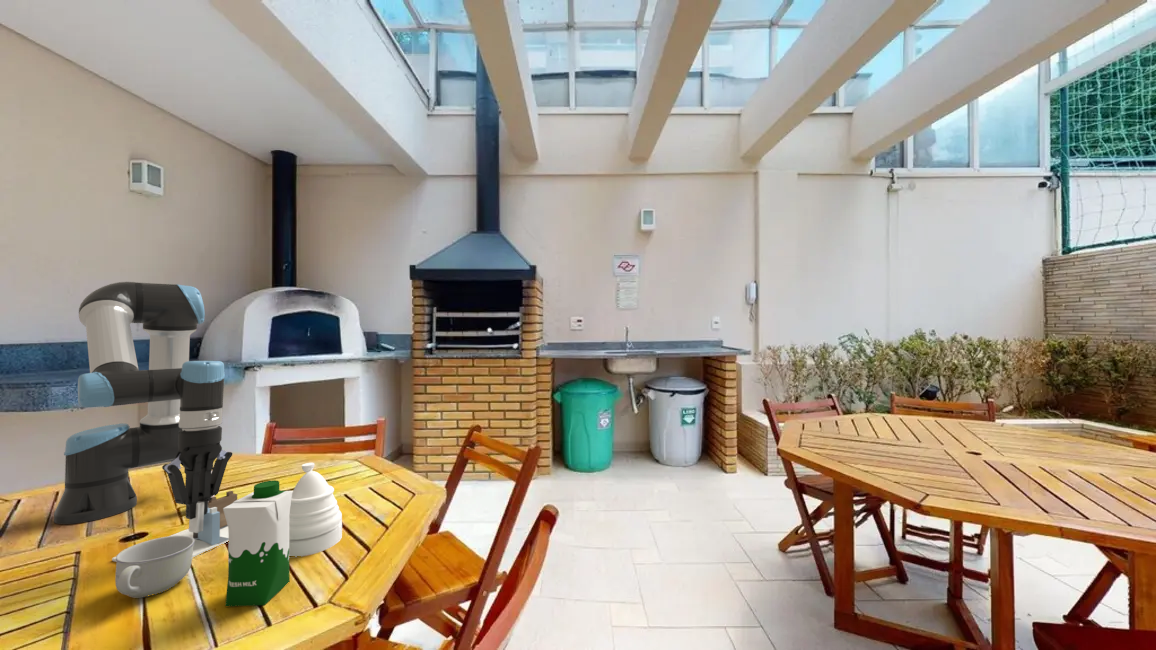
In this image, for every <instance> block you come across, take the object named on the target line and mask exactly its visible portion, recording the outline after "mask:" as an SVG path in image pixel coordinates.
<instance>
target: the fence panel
mask: <svg viewBox="0 0 1156 650" xmlns="http://www.w3.org/2000/svg"><path fill="white" fill-rule="evenodd" d="M198 539H200V540H202V541H204V542H206V543H209V544H211V545H214V544H217V543H220V512H218V511H217V507H213V508H208V511H207V514H205V515H204V520H203V531H201V532H198Z"/></svg>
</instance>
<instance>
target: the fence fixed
mask: <svg viewBox="0 0 1156 650" xmlns="http://www.w3.org/2000/svg"><path fill="white" fill-rule="evenodd" d="M211 498H212V499H211V500H210V501H209V502H208V508H213V507H217V511H218V512H220V528H221V527H224V526H226V525H227V521H226V518H225V514H224V510H223V508H225V507H227V506H228V505H230V504H232V503H233V502H234V501H236V500H238V493H234V490H229V491H226V494H225V496H221V497H219V498H217V497H216V496H214V497H211ZM193 538H198V533H194V532H193Z"/></svg>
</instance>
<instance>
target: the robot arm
mask: <svg viewBox="0 0 1156 650" xmlns="http://www.w3.org/2000/svg"><path fill="white" fill-rule="evenodd" d="M205 313H206V312H205V305H204V300H203V297H202V293H201V291H200V290H199V289H198V288H196V287H195V286H192V285H183V284H178V283H177V284H176V283H175V284H173V283H171V284H170V283H151V282H135V281H120V282H114V283H110V284H106V285H104V286H101V287H99V288H97V289H95V290H94V291H92V292H90V294H88V295H87V296H86V297H85V298H84V299H83V300H82V302H81V303H80V306H79V308H78V319H79V321H80V323H81V324H82V325H83V326H84V327H85V329H86V331H85V332H86V342H87V352H88V353H87V354H88V364H89V372H88V373H83V374H80V375H79V376H78V379H77V403H78V405H79V406H80V407H82V408H86V409H87V408H100V407H101V408H102V407H104V408H107V407H108V408H109V407H115V406H116V407H117V406H125V405H134V404H135V405H136V404H144V403H147V414H146V415H145V416H144V417H142V418H141V419H140V420H139V426H136V427H130V425H129V424H128V423H116V424H109V425H103V426H97V427H94V428H90V429H87V430H86V429H85V430H82V431H79V432H77V433H74V434H72V435H70V436H69V437H68V438H67V439H66V441H65V449H64V452H63V455H64V456H65V459H64V461H65V462H64V463H65V464H64V466H65V467H64V490H63V493H62V495H61V498H60V499H59V501H58V504H57V506H56V508H55V510H54V513H53V523H55V524H58V525H72V524H79V523H80V524H81V523H85V522H86V523H87V522H91V521H97V520H101V519H104V518H109V517H112V516H115V515H118V514H121V513H124V512H126V511H129V510H131V509H133V508H134V507H135V506H137V504H138V501H137V500H138V498H137V494H136V491H135V489H134V487H133V486H132V483H131V482H130V480H129V470H131V469H135V468H142V467H146V466H152V465H153V466H154V465H158V464H163V465H162V467H161V468H162V470H163V471H164V472H165V473H166V474H167V477H168V480H169V484H170V488H171V491H172V493H173V499H174V502H175V504H179V505H185V518H186V519H187V520H188V521H189V522H188V523H189V524H188V529H189V532H194V533H198V532H201V531H203V520H204V515H205V514H207V511H208V501H210V500H211V499H212V498H211V497H212V496H213V495H215V496H217V495H218V494H219V492H220V489H221V484H222V482H223V478H224V475H225V472H226V468H227V465H228V462H229V460H230V459H231V458H232V457H233V452H231V451H227V450H226V451H225V450H224V449H223V447H222V445H221V441H222V439H223V438H222V435H223V434H222V433H223V428H222V427H221V426H220V425H221V424H222V423H223V409H224V408H223V406H224V388H225V377H226V373H225V364H224V361H223V362H222V361H221V360H190V341H191V340H190V339H191V335H192V334H193V333H194V332H196V331H197V329H198V325H201V324H204V322H205V315H206V314H205ZM131 324H142V330H143V331H144V332H145V333H147V334H148V335H149V355H148V356H149V359H148V369H142V370H140V369H139V366H138V365H139V364H138V360H137V355H136V350H135V349H136V348H135V344H134V338H133V335H132V334H133V333H132V328H131ZM182 466H183V468H184V473H185V481H184V476H183V473H182V471H181V468H182ZM211 471H212V473H211ZM132 507H133V508H132ZM130 508H131V509H130Z"/></svg>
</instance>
